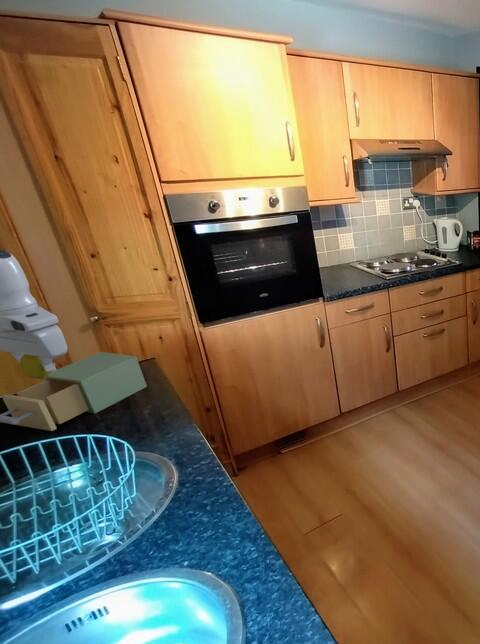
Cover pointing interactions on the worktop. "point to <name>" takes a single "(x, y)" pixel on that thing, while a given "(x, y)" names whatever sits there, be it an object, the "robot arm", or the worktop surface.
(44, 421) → the drawer
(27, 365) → the lemon
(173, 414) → the worktop surface
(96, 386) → the cabinet
